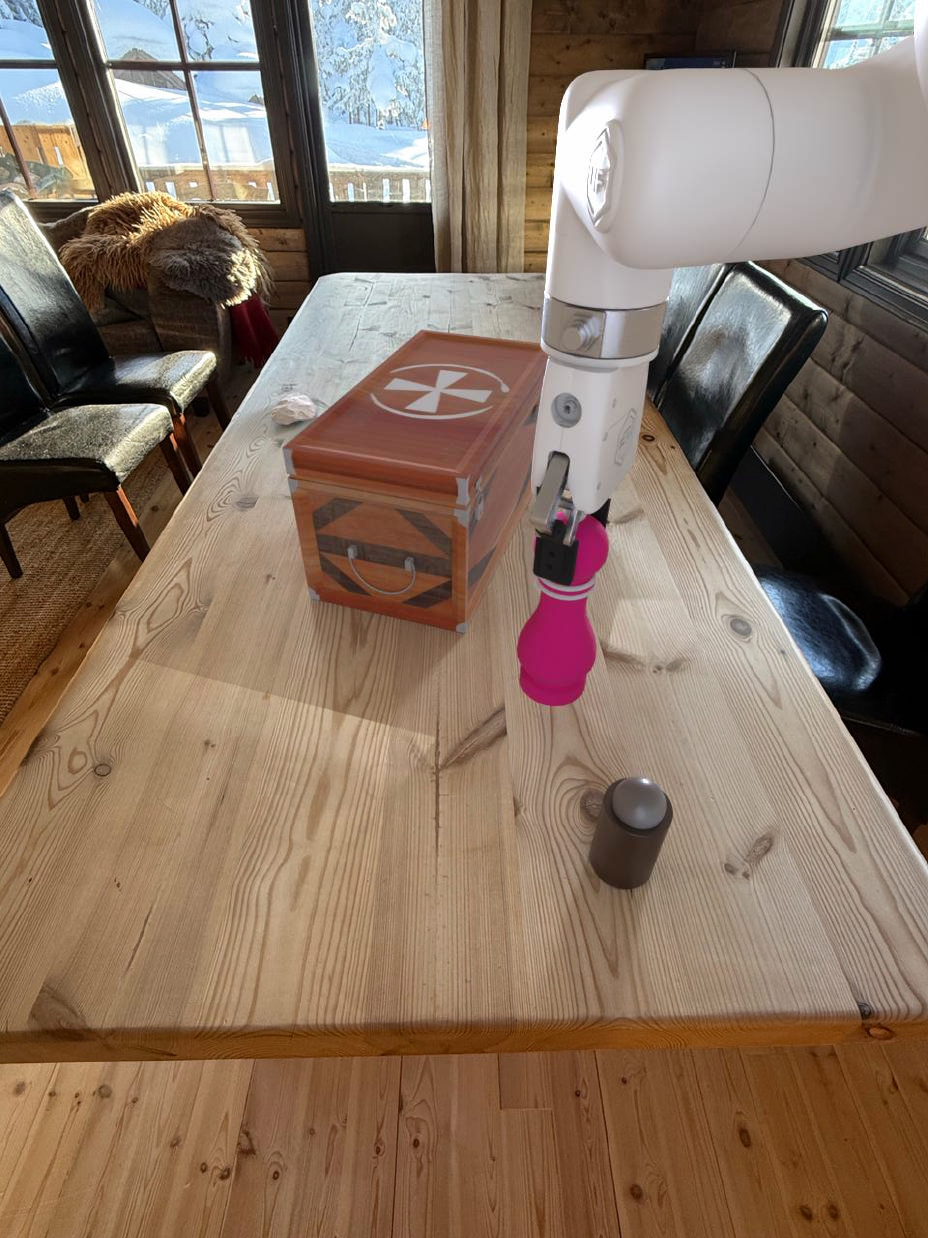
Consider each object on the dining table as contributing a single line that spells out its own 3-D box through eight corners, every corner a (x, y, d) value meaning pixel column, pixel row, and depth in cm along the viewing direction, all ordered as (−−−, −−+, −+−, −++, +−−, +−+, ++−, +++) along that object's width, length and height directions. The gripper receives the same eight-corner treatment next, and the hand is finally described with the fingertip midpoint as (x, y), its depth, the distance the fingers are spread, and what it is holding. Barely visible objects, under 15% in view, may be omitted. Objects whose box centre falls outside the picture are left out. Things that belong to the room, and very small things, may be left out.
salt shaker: (660, 849, 56) (688, 776, 49) (641, 901, 52) (668, 831, 46) (602, 822, 58) (621, 749, 51) (580, 871, 54) (598, 799, 48)
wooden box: (545, 473, 105) (558, 344, 92) (467, 636, 76) (469, 481, 63) (425, 453, 110) (421, 328, 97) (308, 599, 81) (279, 449, 67)
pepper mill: (517, 653, 66) (532, 474, 53) (589, 660, 65) (623, 481, 52) (511, 706, 61) (526, 522, 48) (589, 715, 60) (627, 530, 47)
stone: (269, 429, 116) (267, 418, 115) (278, 397, 127) (276, 387, 125) (314, 427, 117) (312, 416, 116) (319, 396, 127) (318, 386, 126)
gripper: (612, 380, 34) (572, 634, 46) (695, 299, 46) (646, 519, 58) (485, 354, 37) (478, 600, 49) (594, 284, 49) (567, 497, 60)
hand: (569, 555), depth 53 cm, fingers closed on pepper mill, 6 cm apart
